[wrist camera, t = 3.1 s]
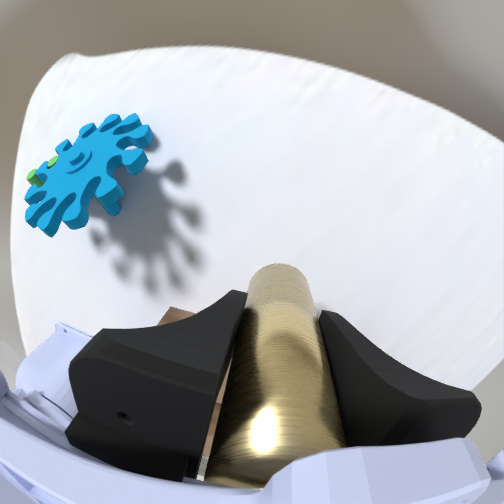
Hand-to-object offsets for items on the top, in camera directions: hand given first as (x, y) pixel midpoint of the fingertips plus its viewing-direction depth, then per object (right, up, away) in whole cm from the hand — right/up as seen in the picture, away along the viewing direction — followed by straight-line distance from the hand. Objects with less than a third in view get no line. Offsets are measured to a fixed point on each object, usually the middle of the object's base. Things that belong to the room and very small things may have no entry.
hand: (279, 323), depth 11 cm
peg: (0, +1, +3) cm, 3 cm away
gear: (-12, +9, +8) cm, 17 cm away
